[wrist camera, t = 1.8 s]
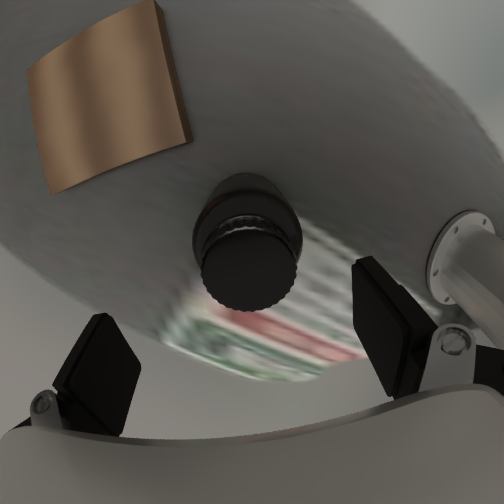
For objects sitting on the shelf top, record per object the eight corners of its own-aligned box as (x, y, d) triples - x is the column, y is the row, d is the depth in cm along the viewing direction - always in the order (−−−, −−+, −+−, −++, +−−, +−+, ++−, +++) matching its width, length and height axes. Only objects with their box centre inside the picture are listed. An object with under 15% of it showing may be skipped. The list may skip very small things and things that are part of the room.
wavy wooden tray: (162, 10, 16) (153, -3, 13) (193, 141, 22) (185, 142, 19) (44, 72, 17) (27, 69, 14) (68, 189, 23) (51, 196, 20)
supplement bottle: (284, 244, 26) (311, 326, 15) (211, 246, 26) (188, 330, 15) (285, 170, 23) (321, 203, 12) (205, 172, 23) (168, 208, 12)
